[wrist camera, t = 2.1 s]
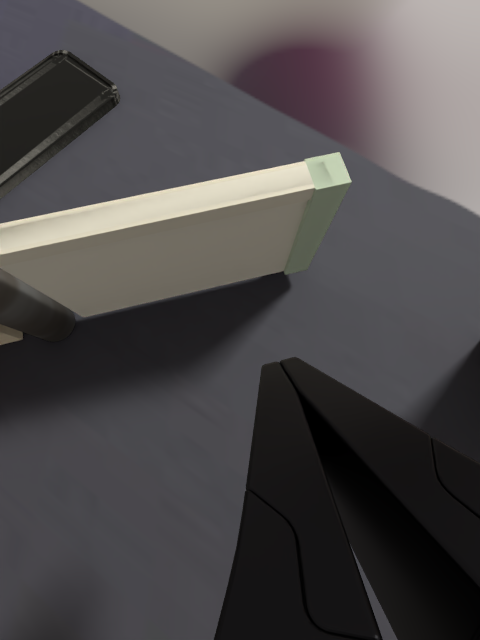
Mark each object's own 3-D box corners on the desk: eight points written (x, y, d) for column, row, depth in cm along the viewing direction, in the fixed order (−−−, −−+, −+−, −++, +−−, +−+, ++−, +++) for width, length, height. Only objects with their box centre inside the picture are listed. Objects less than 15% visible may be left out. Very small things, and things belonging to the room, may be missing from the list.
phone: (122, 89, 27) (-23, 204, 23) (127, 102, 28) (-12, 213, 25) (61, 45, 28) (-85, 148, 25) (67, 59, 29) (-72, 159, 26)
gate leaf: (84, 321, 21) (-22, 261, 12) (81, 299, 21) (-24, 226, 13) (306, 269, 22) (351, 182, 13) (300, 249, 22) (339, 152, 14)
